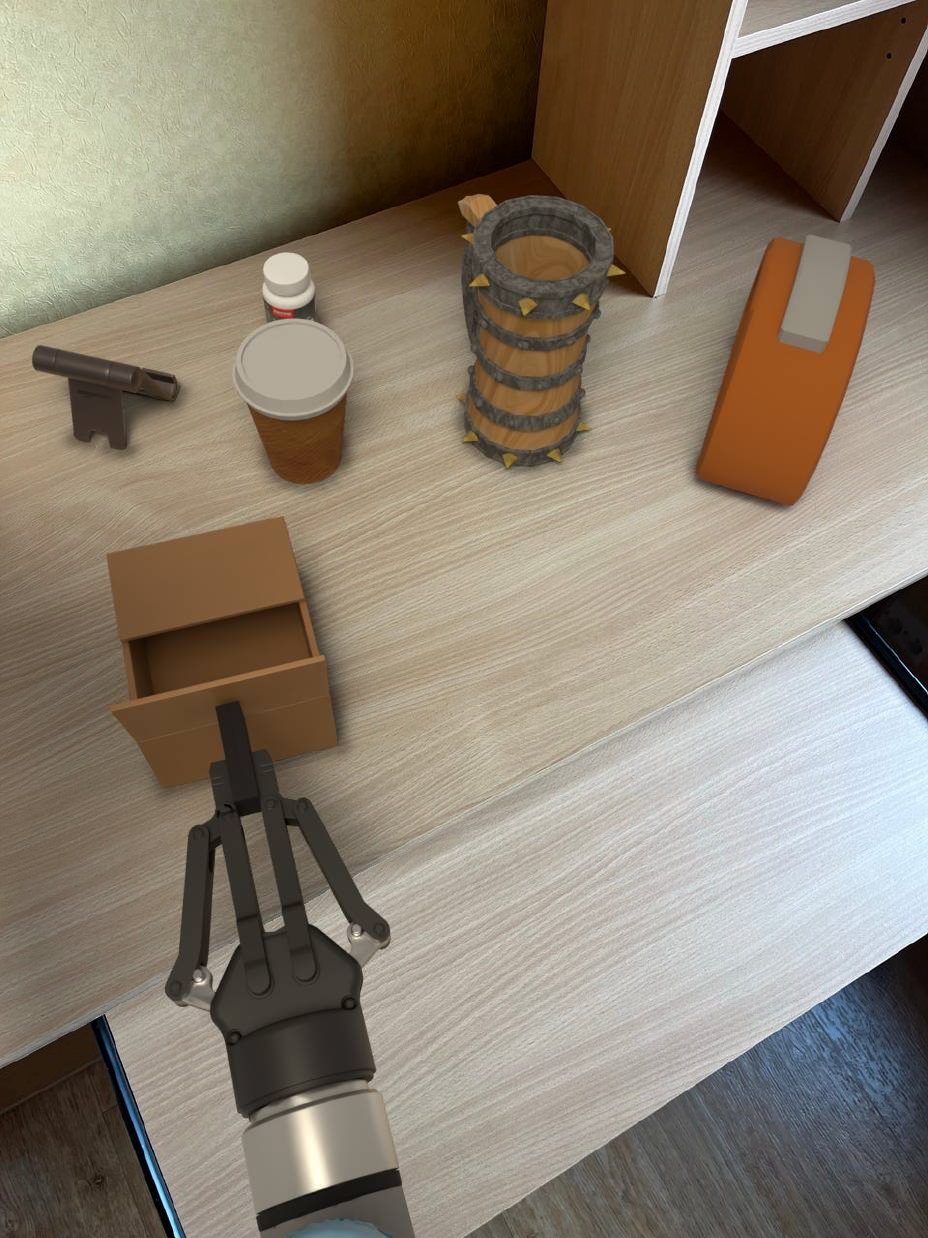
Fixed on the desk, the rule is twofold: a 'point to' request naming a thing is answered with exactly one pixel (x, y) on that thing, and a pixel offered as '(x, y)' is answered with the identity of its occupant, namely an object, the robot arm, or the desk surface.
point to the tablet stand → (101, 389)
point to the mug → (529, 321)
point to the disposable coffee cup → (296, 395)
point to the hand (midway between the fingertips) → (230, 713)
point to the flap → (223, 698)
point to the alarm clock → (788, 368)
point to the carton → (217, 637)
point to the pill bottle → (288, 288)
